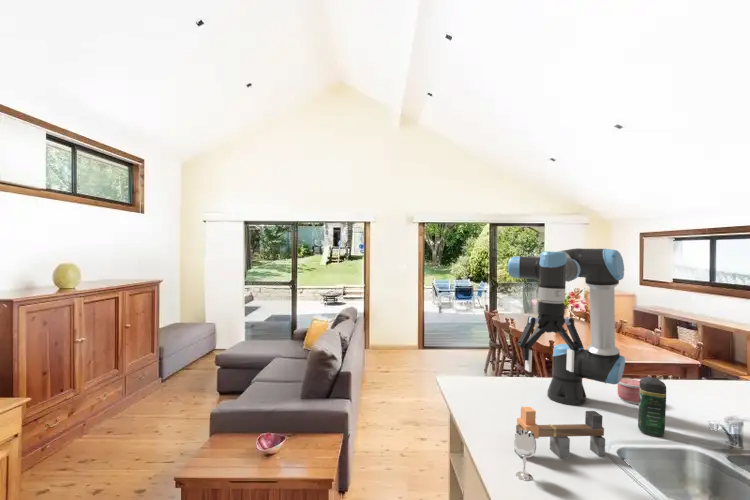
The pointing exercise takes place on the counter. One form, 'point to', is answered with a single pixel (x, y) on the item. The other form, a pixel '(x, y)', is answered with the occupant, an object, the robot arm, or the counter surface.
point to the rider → (528, 420)
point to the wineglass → (525, 450)
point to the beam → (562, 442)
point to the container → (629, 390)
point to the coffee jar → (652, 406)
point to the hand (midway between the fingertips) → (549, 370)
